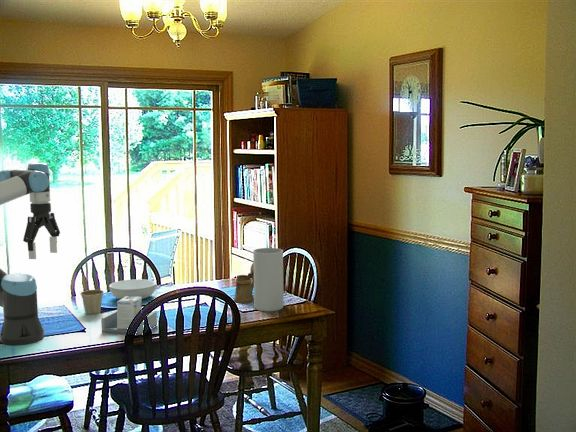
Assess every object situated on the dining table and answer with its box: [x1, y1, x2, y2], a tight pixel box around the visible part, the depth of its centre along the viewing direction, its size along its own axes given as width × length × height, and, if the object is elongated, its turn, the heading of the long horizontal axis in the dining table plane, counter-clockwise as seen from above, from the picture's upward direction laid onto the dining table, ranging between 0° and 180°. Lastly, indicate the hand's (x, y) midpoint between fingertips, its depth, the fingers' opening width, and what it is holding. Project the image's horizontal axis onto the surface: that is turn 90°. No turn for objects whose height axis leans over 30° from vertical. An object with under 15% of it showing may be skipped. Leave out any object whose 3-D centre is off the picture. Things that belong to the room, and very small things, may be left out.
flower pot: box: [79, 289, 105, 315], centre depth 279 cm, size 9×9×9 cm
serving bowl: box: [108, 278, 157, 300], centre depth 302 cm, size 21×21×7 cm
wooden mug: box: [233, 262, 254, 304], centre depth 297 cm, size 9×14×18 cm, turn 125°
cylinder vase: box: [252, 247, 284, 313], centre depth 283 cm, size 12×12×25 cm
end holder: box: [100, 309, 158, 336], centre depth 255 cm, size 13×16×6 cm
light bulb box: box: [116, 296, 143, 329], centre depth 255 cm, size 11×7×11 cm, turn 177°
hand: (43, 255), depth 264 cm, fingers open, 13 cm apart
